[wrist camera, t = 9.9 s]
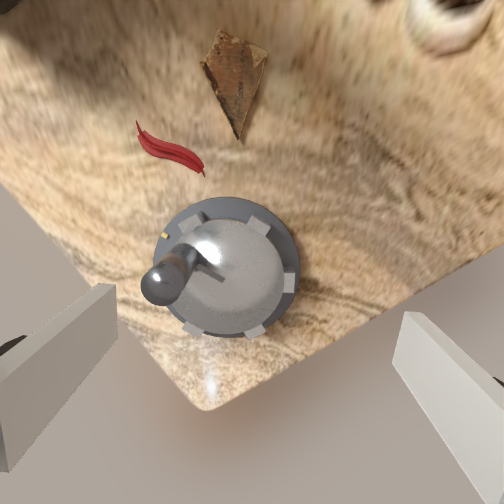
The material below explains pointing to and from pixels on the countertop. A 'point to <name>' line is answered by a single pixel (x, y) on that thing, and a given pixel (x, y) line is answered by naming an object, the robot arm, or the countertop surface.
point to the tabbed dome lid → (221, 276)
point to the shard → (234, 75)
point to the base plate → (243, 211)
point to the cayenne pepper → (170, 151)
